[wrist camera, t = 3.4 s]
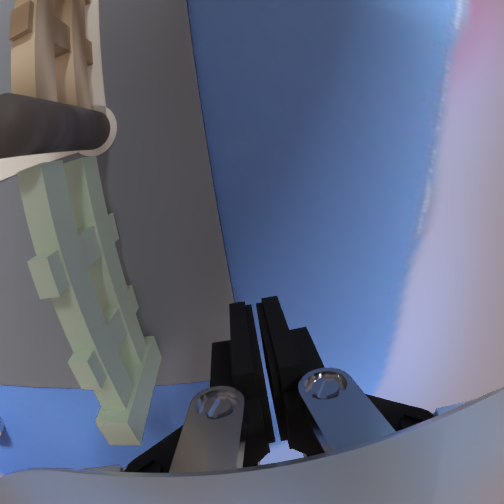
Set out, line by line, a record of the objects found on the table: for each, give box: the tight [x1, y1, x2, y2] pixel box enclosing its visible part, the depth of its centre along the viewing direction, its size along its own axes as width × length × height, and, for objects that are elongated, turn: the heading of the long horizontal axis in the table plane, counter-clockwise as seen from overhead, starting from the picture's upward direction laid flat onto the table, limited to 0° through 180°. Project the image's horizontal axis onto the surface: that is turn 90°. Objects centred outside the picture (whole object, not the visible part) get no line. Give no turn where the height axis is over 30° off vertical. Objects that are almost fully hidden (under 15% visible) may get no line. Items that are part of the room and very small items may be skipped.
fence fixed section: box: [0, 0, 110, 159], centre depth 7 cm, size 13×4×7 cm, turn 8°
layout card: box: [0, 0, 235, 388], centre depth 12 cm, size 20×28×1 cm
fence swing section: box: [17, 156, 162, 446], centre depth 11 cm, size 10×1×6 cm, turn 8°
